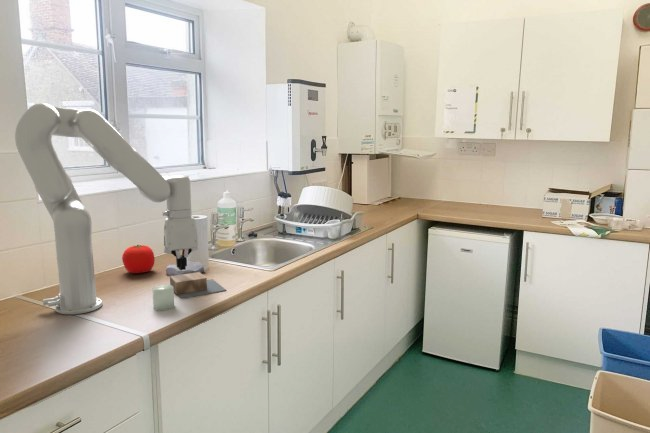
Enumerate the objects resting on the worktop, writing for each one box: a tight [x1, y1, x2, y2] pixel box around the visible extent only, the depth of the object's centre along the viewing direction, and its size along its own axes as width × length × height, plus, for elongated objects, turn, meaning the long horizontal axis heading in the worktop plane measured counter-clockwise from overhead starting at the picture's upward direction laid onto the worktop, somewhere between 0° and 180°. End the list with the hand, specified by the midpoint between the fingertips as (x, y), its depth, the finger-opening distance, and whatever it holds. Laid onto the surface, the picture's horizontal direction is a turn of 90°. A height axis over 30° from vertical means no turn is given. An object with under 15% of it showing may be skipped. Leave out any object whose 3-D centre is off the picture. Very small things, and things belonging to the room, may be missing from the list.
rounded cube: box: [152, 284, 175, 311], centre depth 150 cm, size 6×6×6 cm
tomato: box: [121, 244, 156, 274], centre depth 185 cm, size 11×12×10 cm
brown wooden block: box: [169, 272, 208, 295], centre depth 165 cm, size 4×8×10 cm
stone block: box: [165, 261, 205, 276], centre depth 185 cm, size 12×5×10 cm
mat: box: [176, 278, 227, 299], centre depth 167 cm, size 15×14×1 cm
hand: (181, 268), depth 163 cm, fingers closed
